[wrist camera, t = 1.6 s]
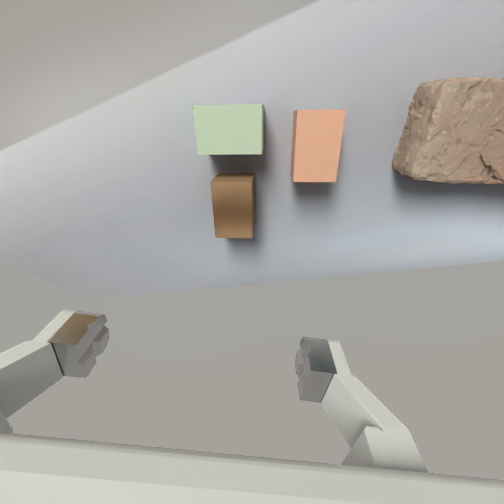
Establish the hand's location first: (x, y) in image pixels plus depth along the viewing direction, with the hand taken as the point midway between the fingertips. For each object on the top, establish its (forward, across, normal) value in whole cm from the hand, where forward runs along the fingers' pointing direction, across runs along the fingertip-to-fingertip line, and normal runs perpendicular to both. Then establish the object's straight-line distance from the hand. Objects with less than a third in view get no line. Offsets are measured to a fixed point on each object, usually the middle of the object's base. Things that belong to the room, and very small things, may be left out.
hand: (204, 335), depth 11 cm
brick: (+21, -24, -9) cm, 33 cm away
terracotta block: (+22, -7, -6) cm, 23 cm away
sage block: (+22, +1, -6) cm, 23 cm away
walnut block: (+22, 0, +1) cm, 22 cm away
